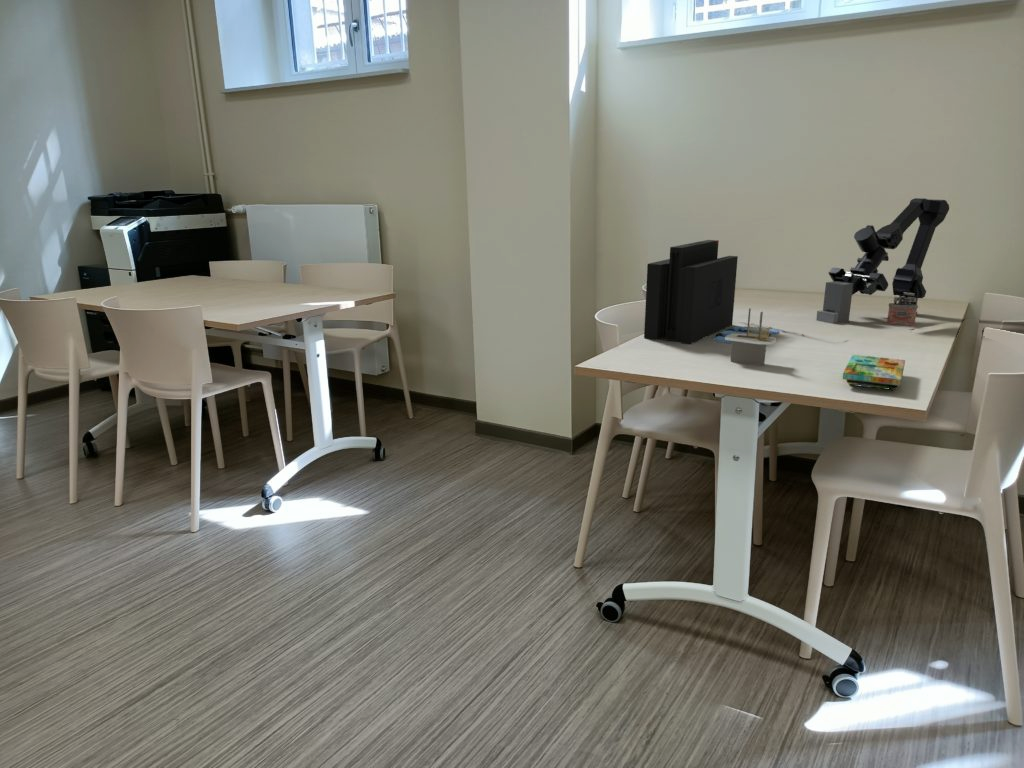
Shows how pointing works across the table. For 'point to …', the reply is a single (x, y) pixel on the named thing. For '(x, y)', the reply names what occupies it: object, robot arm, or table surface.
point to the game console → (692, 295)
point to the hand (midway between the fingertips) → (843, 298)
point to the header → (827, 317)
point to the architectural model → (750, 345)
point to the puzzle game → (874, 371)
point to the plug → (838, 299)
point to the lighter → (902, 311)
